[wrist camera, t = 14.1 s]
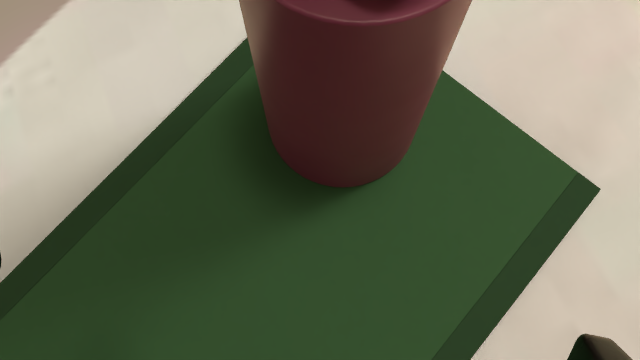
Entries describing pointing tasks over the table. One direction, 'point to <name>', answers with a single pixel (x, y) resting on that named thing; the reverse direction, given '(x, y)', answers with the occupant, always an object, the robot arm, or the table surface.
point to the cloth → (293, 242)
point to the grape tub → (348, 79)
